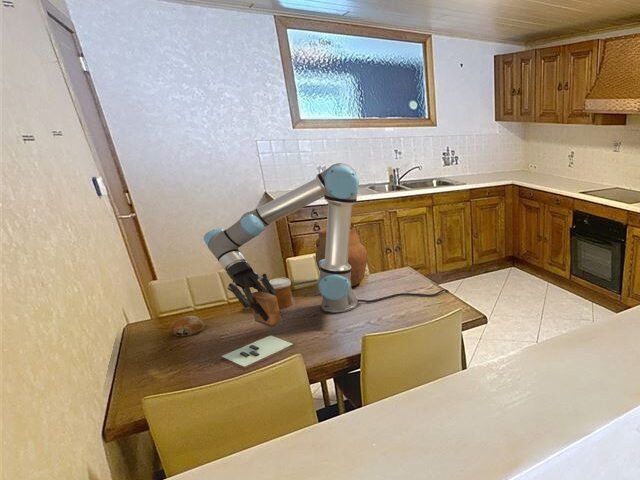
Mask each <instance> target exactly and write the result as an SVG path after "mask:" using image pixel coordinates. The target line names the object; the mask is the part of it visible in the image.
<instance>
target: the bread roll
mask: <svg viewBox="0 0 640 480" xmlns="http://www.w3.org/2000/svg"><path fill="white" fill-rule="evenodd" d="M205 326H206V325H205V323H204V322H203V320H202V319H200V318H199V317H198V316H195V315H185V316H182V317H180V318H179V319H177V320H176V321H175V323H174V324H173V325H172V334H173V335H174V336H176V337H177V336H178V337H188V336H193V335H196V334H198V333H199V332H201V331H203V330H204V329H205Z"/></svg>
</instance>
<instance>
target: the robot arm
mask: <svg viewBox="0 0 640 480" xmlns="http://www.w3.org/2000/svg"><path fill="white" fill-rule="evenodd" d="M359 186H360V180H359V177H358V175H357V173H356V171H355V170H354V168H352V166H350V165H349V164H347V163H343V162H337V163H334V164H332V165H330V166H329V167H327V168H326V169H325V170H323V171H322V172H320V173H317V174H316V176H315V178H314V179H312V180H310V181H308V182H306V183H304V184H301V185H300V186H298V187H296V188H294V189H292V190H290V191H288V192H286V193H284V194H282V195H280V196H278V197H276V198H275V199H272V200H270V201H268V202H266V203H265V204H263V205H261V206H258V207H257V208H255V209H253V210H250V211H247V212H245V213H243V214H242V215H241V217H240V218H239V219H238V220H237V221H236V222H235V223H233V224H232V225H231V226H229V227H228V228H227V229H224V228H214V229H212V230H209V231H207V232H206V233H205V234H204V235H203V241H204V243H205V244H206V246H207V249H208V250H209V251H210V252H211V254H212V255H213V256H214V257H215V259H217V262H218V263H219V264H220V265H221V268H223V270H224V271H225V272H226V274H227V275H228V277H229V278H230V279H231V280H232V282H231V283H229V284H228V286H227V290H228V291H230V292H232V294H233V295H234V296H235V297H236V299H237V300H238V301H239V303H240V304H241V305H242V306H243V308H245V309H247V308H249V309H251V310H252V309H253V310H254V311H255V313H256V314H260V316H261V317H262V318H263V320H264V321H267V320H268V318H269V317H268V315H267V314H266V312H265V311H264V310H263V308H262V307H261V306H260V304H259V303H257V304H256V302H255V300H254V297H253V295H252V293H253V292H252V291H251V288H253V289H254V290H256V292H257V291H262V292H265V293H268V294H272V295H275V296H276V295H277V293H276V291H275V290H274V288H273V287H272V285H271V284H270V282H269V281H270V280H269V279H268V276H267V274H266V273H263V274H258V273H257V272H255V271H254V269H253V268H252V266H251V265H250V263H249V261H247V258H245V257H244V255H243V254H242V252H241V251H240V249H239V248H240V247H242V246H244V244H246V243H249V242H250V241H251V240H253V239H254V238H255V237H257V236H259V235H260V234H261V233H263V232H264V231H265V230H266V228H267V227H268V226H270V225H271V224H274V223H275V222H277V221H279V220H281V219H283V218H286V217H287V216H289V215H291V214H293V213H295V212H297V211H299V210H301V209H303V208H305V207H307V206H309V205H310V204H313V203H314V202H317V201H319V200H321V199H322V198H324V200H325V201H326V203H327V219H326V229H327V233H326V250H325V259H322V260H320V261H319V268H320V271H319V280H318V281H319V282H318V285H317V286H318V291H319V293H320V294H321V296H322V301H321V310H322V311H323V312H324V313H327V314H341V313H347V312H350V311H353V310H354V309H356V308H357V307H358V306H359V303H374V302H379V301H382V300H385V299H390V298H394V297H398V296H421V297H435V296H437V295H439V294H441V293H443V292H447V293H449V292H450V290H448V289H445V288H444V289H441V290H439V291H437V292H436V293H435V292H434V293H430V294H427V293H416V292H415V293H413V292H402V293H401V292H400V293H395V294H391V295H387V296H382V297H379V298H375V299H370V300H369V299H368V300H367V299H358V297H357V295H356V294H355V292H354V290H353V288H352V287H353V286H351V280H350V278H351V266H350V265H349V264H348V252H349V239H350V227H352V226H351V224H352V214H353V213H352V212H353V206H354V205H356V203H357V199H358V190H359ZM261 283H262V284H261ZM240 288H241V289H242V290H240ZM444 290H445V291H444ZM242 292H243V293H244V294H243V293H242ZM253 310H252V311H253ZM279 311H280V315H281V314H282V311H281V308H279Z"/></svg>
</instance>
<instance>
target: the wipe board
mask: <svg viewBox="0 0 640 480" xmlns="http://www.w3.org/2000/svg"><path fill="white" fill-rule="evenodd" d="M251 345H254V346H256V347H259V349H257V350H254V349H252V348H249V346H251ZM292 345H293V342H289V341H286V340H284V339H281V338H279V337H276V336H274V335H271V334H270V335H268V336H266V337H262V338H261V339H258V340H256V341H253V342H252V343H249V344H246V345H245V346H242V347H240V348H237V349H234V350H233V351H230V352H227V353H226V354H223V355H221V357H222V358H224V359H226V360H228V361H231V362H233V363H235V364H237V365H240V366H242V367H247V366H249V365H251V364H253V363H255V362H258V361H260V360H262V359H264V358H267V357H268V356H271V355H273V354H276V353H277V352H280V351H281V350H284V349H286V348H288V347H290V346H292ZM251 351H254V352H257V353H259V355H258V356H254V355H252V354H250V353H249V352H251ZM241 352H245V353H247V354H249V355H250V356H248V357H245V356H242V355H240V353H241Z"/></svg>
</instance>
